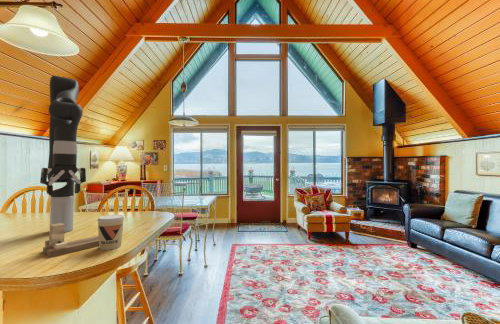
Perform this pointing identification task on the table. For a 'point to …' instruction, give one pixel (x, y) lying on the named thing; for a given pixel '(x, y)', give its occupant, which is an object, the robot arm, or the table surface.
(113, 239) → the coffee cup
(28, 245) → the table surface
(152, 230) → the table surface
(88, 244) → the board
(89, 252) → the table surface
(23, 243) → the table surface
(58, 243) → the beige stepped block
